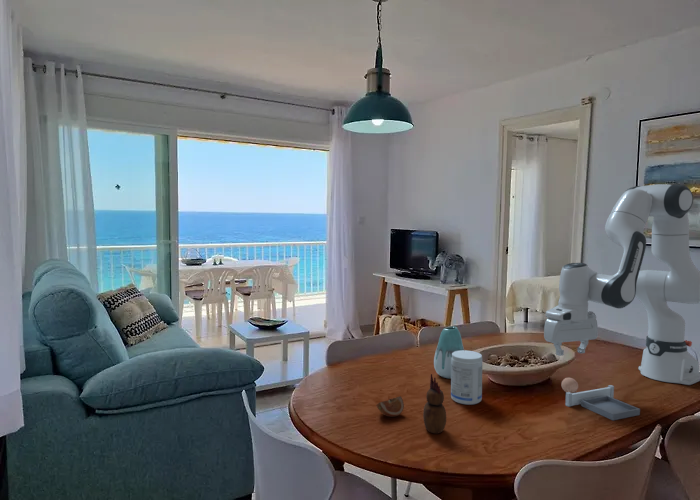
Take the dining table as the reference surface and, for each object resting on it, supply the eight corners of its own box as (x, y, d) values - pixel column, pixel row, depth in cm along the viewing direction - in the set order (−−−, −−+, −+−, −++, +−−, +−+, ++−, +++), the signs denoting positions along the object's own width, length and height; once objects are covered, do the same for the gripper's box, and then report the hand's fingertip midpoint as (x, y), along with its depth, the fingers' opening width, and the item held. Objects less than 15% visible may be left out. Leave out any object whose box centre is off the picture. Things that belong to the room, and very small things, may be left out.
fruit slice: (385, 423, 129) (385, 405, 129) (371, 414, 134) (371, 397, 134) (408, 416, 134) (408, 399, 133) (393, 408, 139) (393, 392, 139)
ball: (568, 389, 156) (569, 374, 156) (581, 394, 152) (581, 379, 151) (557, 391, 154) (558, 376, 154) (569, 396, 150) (570, 381, 149)
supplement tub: (468, 392, 153) (469, 348, 152) (488, 402, 144) (489, 356, 143) (444, 396, 148) (445, 352, 147) (463, 407, 140) (465, 360, 139)
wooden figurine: (420, 425, 128) (421, 372, 127) (441, 424, 128) (442, 371, 127) (426, 436, 121) (428, 380, 120) (448, 436, 121) (449, 380, 120)
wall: (610, 397, 150) (610, 384, 149) (613, 398, 149) (614, 386, 148) (565, 405, 143) (565, 392, 142) (568, 406, 141) (569, 393, 141)
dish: (606, 401, 146) (607, 395, 146) (639, 414, 136) (640, 408, 136) (580, 405, 142) (581, 400, 142) (612, 420, 132) (613, 414, 132)
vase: (430, 378, 165) (431, 329, 164) (437, 368, 176) (438, 322, 175) (463, 383, 161) (464, 332, 160) (468, 373, 172) (469, 325, 171)
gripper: (587, 309, 158) (585, 349, 159) (541, 312, 150) (539, 354, 151) (604, 312, 152) (601, 354, 153) (556, 315, 144) (554, 359, 145)
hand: (570, 354), depth 152 cm, fingers open, 8 cm apart
